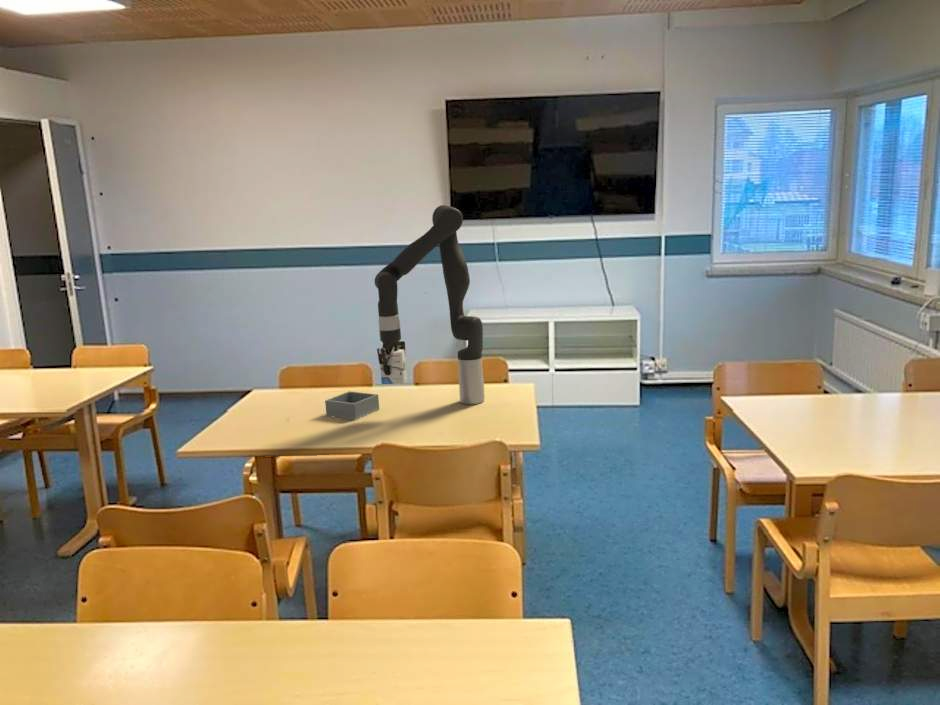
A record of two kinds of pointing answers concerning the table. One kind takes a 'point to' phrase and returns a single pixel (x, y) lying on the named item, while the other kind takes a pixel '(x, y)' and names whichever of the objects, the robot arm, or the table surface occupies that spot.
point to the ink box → (395, 369)
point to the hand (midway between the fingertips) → (393, 372)
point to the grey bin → (352, 405)
